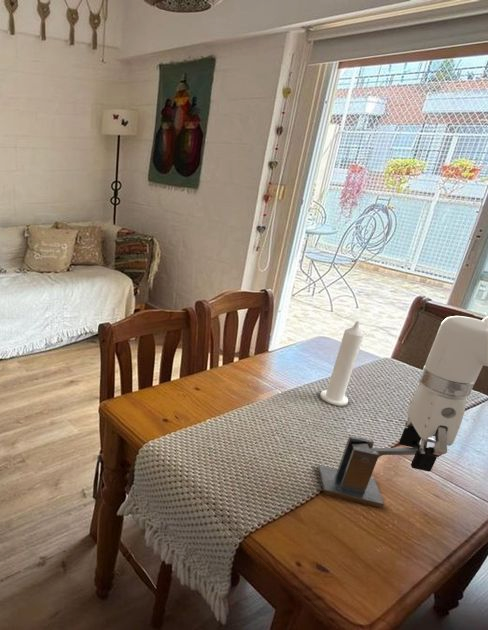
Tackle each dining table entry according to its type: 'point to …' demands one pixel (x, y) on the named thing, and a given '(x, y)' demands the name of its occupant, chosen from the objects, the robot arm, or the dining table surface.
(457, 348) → the robot arm
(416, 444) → the press lever
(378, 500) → the press bracket
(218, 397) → the dining table surface
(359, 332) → the candle
